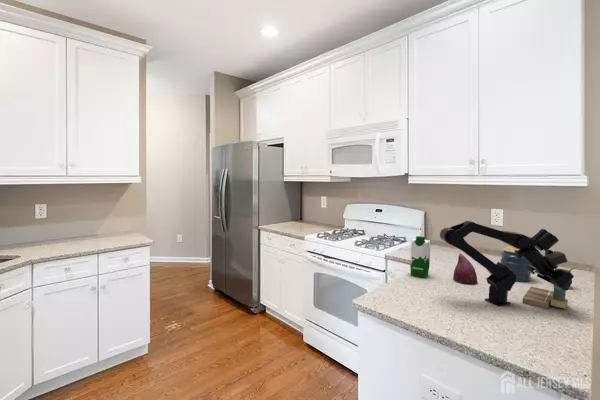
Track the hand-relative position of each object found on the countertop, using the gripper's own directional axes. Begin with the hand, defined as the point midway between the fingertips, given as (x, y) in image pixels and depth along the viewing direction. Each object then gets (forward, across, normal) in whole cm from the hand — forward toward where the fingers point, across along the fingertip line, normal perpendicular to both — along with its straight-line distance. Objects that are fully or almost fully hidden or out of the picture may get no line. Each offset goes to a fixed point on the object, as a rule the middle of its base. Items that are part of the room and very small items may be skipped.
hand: (563, 288), depth 122 cm
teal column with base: (+4, 0, +6) cm, 7 cm away
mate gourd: (+17, +26, -7) cm, 32 cm away
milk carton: (-27, +32, +38) cm, 56 cm away
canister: (+6, +36, +4) cm, 37 cm away
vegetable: (-13, +26, +24) cm, 38 cm away
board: (+2, +7, +8) cm, 11 cm away
